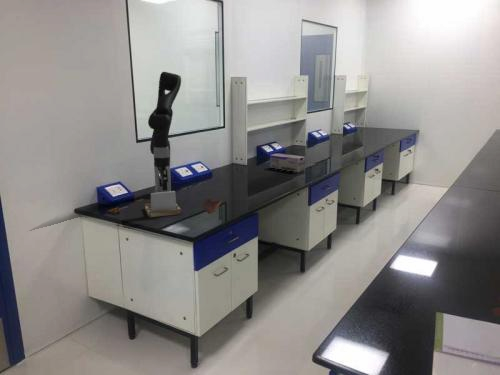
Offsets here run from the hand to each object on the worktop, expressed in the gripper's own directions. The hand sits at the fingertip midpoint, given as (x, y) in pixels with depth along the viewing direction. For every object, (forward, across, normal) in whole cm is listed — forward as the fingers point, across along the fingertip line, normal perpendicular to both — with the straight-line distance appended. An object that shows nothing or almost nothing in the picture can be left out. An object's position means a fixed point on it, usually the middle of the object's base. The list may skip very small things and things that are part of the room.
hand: (163, 188), depth 211 cm
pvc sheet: (+13, 0, 0) cm, 13 cm away
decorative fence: (+15, +22, +15) cm, 31 cm away
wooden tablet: (+16, +9, -26) cm, 31 cm away
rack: (+15, +4, 0) cm, 15 cm away
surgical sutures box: (+15, +81, -108) cm, 136 cm away
